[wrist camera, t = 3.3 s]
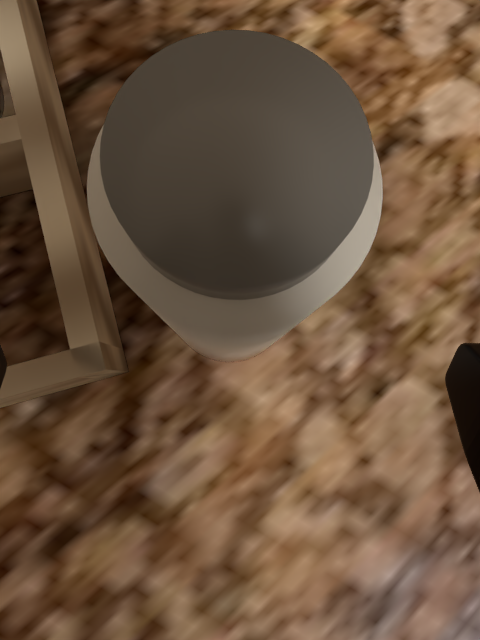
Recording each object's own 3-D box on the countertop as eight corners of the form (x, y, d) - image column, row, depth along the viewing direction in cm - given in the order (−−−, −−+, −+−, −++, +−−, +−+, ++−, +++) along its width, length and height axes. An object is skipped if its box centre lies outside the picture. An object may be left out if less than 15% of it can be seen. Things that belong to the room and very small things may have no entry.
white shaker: (301, 271, 19) (446, 63, 7) (265, 378, 18) (349, 372, 6) (195, 233, 19) (140, -42, 7) (154, 338, 18) (7, 250, 6)
